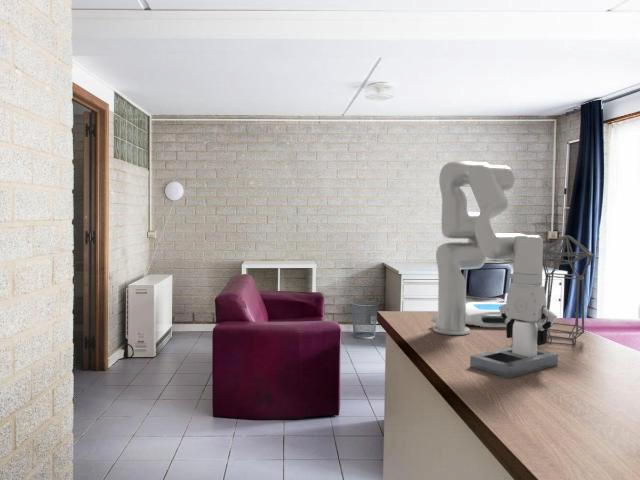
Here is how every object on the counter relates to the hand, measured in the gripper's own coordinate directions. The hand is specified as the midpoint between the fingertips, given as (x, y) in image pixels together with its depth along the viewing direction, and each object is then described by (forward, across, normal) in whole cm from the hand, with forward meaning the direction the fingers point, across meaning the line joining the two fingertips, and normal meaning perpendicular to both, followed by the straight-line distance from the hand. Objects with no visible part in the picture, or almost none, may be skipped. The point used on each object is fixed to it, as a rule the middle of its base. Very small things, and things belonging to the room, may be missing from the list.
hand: (525, 340), depth 142 cm
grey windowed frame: (+6, 0, -5) cm, 8 cm away
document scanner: (+7, -40, +41) cm, 58 cm away
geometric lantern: (+6, -8, +33) cm, 35 cm away
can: (+6, 0, 0) cm, 6 cm away
